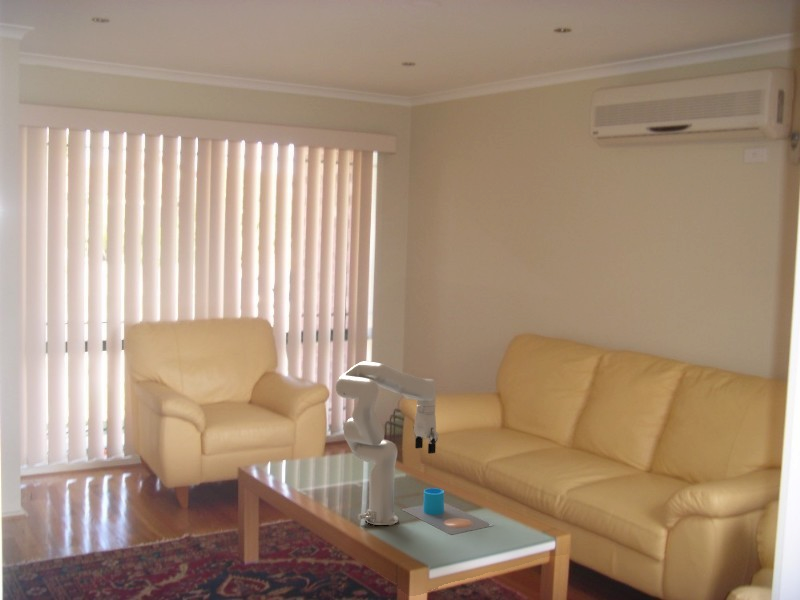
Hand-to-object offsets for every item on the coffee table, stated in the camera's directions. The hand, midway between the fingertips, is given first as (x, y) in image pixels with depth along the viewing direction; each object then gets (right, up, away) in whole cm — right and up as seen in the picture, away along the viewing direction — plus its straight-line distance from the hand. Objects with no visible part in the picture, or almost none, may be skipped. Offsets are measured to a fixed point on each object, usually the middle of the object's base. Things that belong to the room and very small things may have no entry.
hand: (425, 450), depth 351 cm
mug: (+2, -22, -8) cm, 24 cm away
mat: (+8, -23, -17) cm, 30 cm away
